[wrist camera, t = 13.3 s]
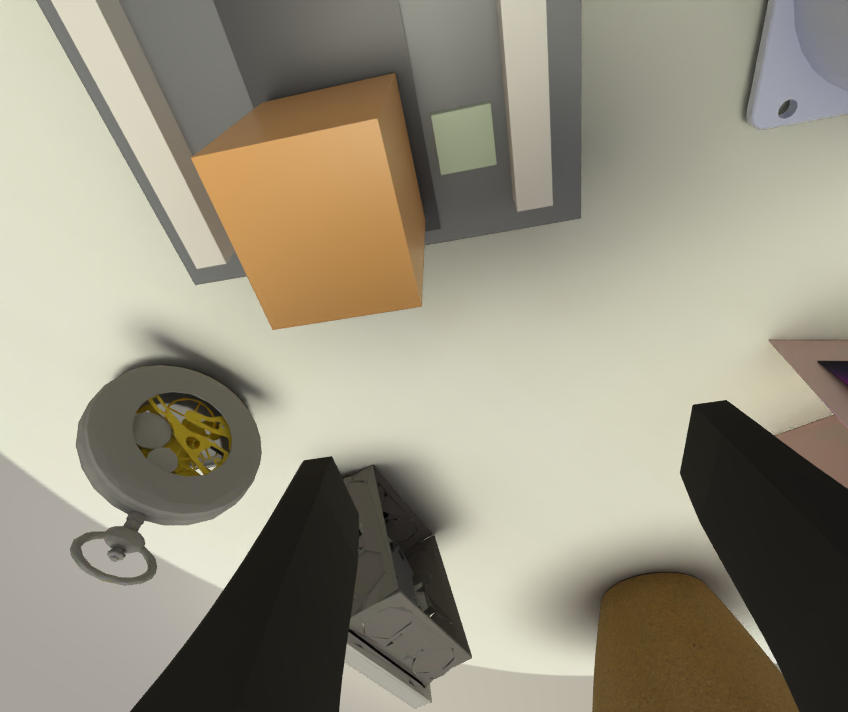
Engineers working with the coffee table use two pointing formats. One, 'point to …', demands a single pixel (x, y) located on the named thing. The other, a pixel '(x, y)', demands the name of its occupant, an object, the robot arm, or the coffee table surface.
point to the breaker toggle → (322, 203)
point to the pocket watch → (163, 455)
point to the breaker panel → (331, 66)
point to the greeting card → (837, 387)
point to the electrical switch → (400, 597)
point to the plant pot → (679, 652)
